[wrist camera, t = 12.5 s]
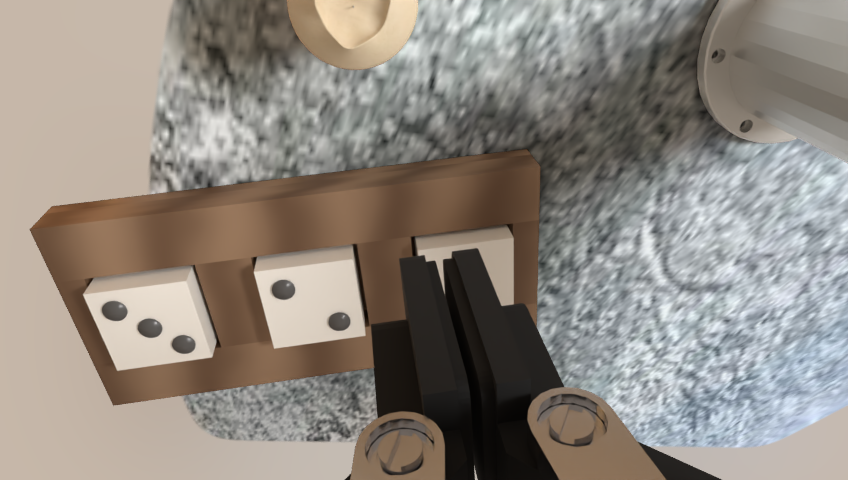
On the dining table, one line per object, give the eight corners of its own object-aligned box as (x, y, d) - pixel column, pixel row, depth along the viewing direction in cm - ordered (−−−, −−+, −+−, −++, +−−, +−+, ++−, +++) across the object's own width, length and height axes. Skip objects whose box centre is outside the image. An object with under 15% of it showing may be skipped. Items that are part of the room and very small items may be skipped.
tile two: (352, 235, 38) (353, 260, 36) (363, 308, 41) (365, 337, 39) (259, 247, 38) (253, 273, 35) (278, 320, 41) (273, 350, 38)
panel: (526, 148, 38) (540, 166, 36) (524, 319, 45) (536, 344, 43) (51, 206, 36) (29, 229, 34) (126, 375, 43) (113, 405, 41)
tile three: (196, 255, 38) (185, 282, 35) (220, 328, 41) (211, 359, 38) (100, 267, 37) (81, 296, 35) (131, 340, 40) (116, 372, 38)
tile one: (502, 215, 39) (514, 239, 36) (503, 289, 42) (514, 316, 39) (412, 227, 39) (418, 251, 36) (420, 301, 42) (425, 328, 39)
